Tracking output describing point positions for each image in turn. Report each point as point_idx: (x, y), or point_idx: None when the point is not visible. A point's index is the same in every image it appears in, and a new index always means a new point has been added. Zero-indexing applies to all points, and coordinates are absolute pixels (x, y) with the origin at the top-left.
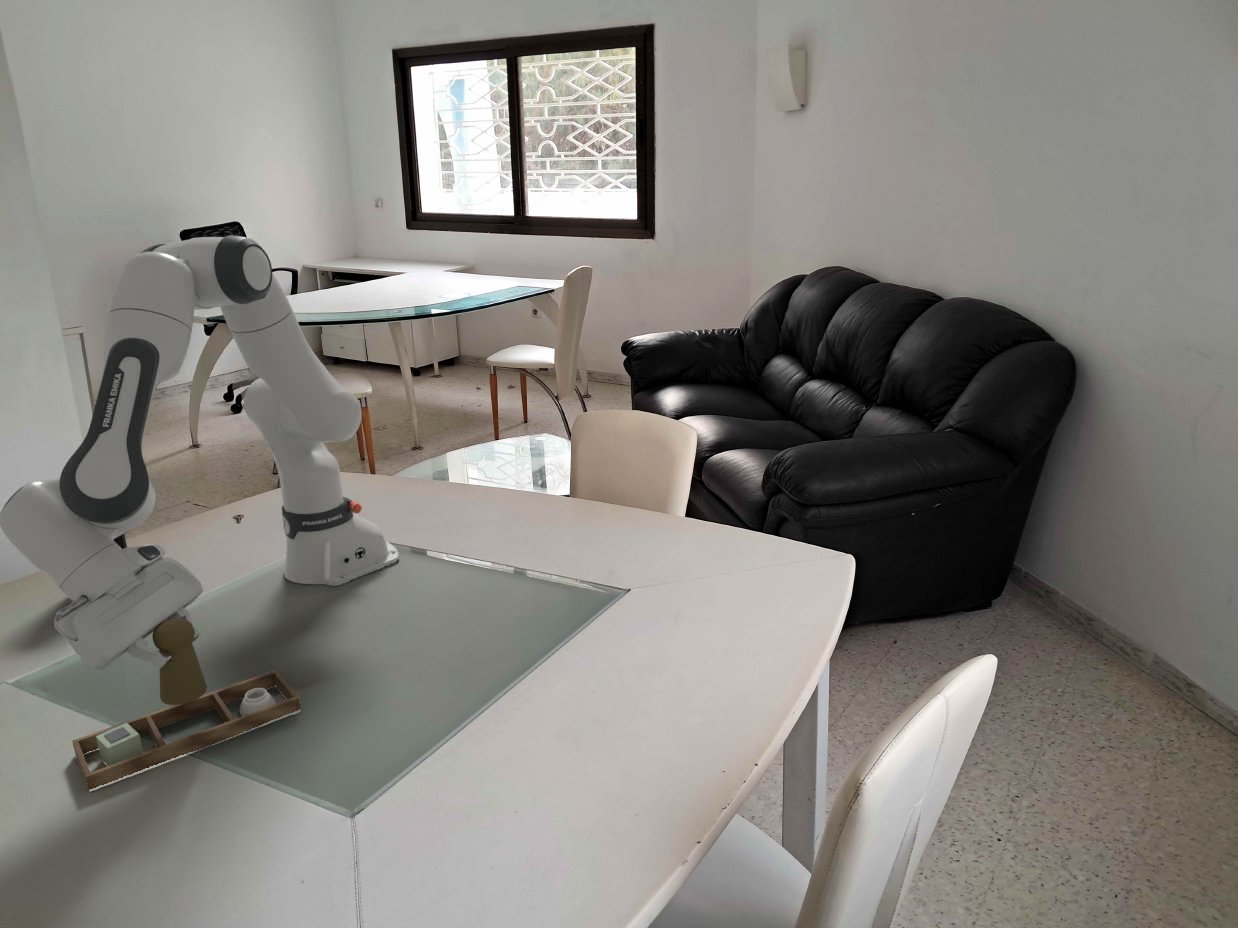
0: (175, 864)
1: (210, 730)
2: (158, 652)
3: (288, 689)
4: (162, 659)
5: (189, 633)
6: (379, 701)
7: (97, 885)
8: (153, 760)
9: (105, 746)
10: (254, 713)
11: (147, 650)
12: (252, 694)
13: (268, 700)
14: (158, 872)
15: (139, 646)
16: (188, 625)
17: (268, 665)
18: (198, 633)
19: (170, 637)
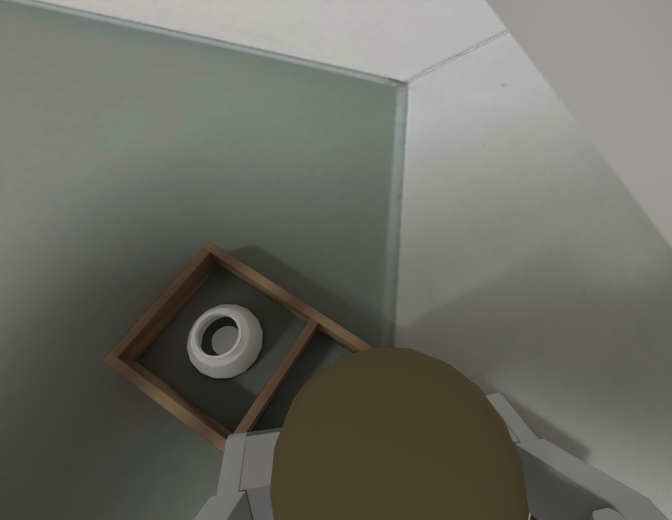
0: (564, 213)
1: (359, 339)
2: (520, 436)
3: (184, 279)
4: (507, 402)
5: (378, 349)
6: (163, 152)
7: (642, 278)
8: None
9: (529, 515)
10: (282, 292)
11: (596, 469)
12: (201, 363)
13: (221, 307)
14: (584, 223)
15: (662, 518)
16: (355, 376)
17: (39, 447)
18: (239, 435)
19: (487, 399)
